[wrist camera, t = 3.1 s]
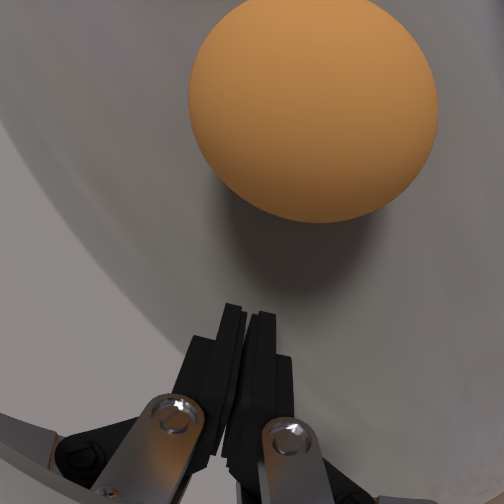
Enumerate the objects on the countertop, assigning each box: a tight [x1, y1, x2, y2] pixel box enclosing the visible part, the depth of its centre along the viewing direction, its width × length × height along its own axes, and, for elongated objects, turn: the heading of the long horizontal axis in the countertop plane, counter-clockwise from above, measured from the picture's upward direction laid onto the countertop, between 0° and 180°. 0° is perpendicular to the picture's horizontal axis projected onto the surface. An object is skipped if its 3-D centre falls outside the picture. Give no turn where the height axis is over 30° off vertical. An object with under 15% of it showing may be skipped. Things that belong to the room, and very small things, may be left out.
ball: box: [188, 0, 438, 223], centre depth 6 cm, size 6×6×6 cm
